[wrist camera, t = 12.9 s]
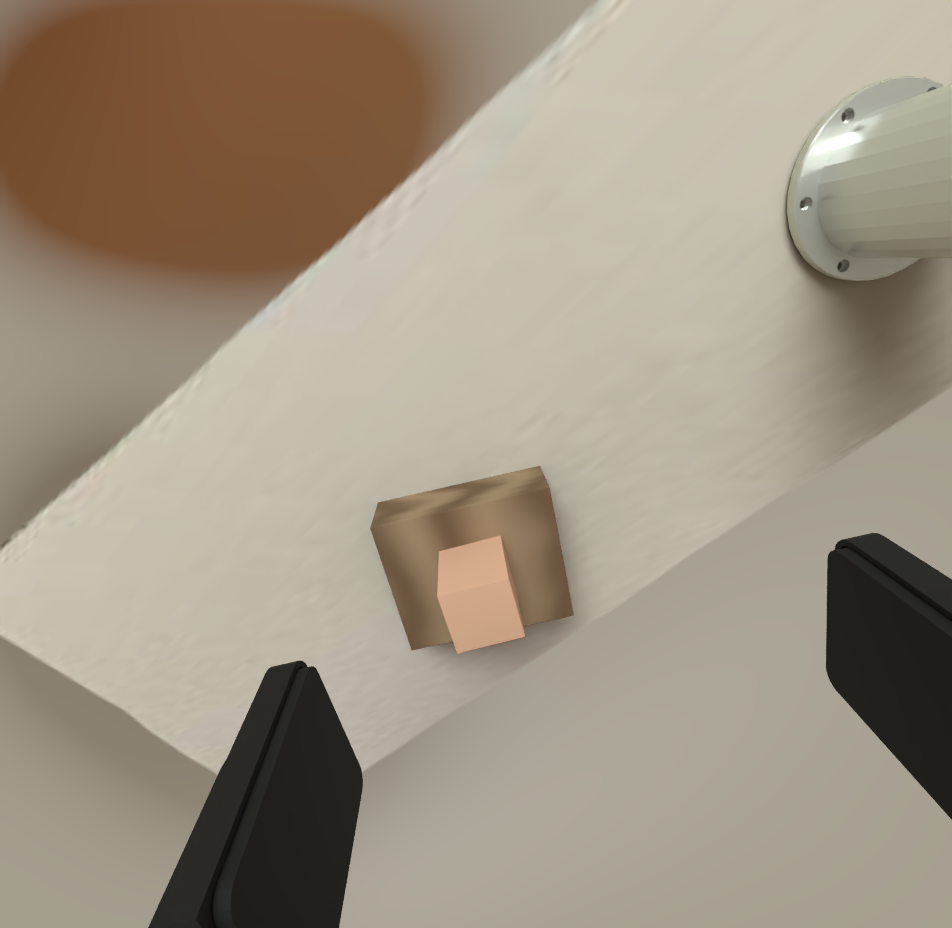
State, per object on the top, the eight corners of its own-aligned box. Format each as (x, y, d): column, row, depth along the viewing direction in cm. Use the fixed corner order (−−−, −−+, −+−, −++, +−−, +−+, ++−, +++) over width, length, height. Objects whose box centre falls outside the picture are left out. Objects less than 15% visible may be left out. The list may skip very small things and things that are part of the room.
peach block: (500, 535, 41) (508, 578, 35) (515, 587, 43) (525, 636, 37) (438, 551, 41) (437, 597, 36) (456, 602, 43) (457, 653, 37)
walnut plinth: (538, 464, 44) (549, 488, 40) (561, 581, 49) (573, 615, 44) (378, 500, 45) (370, 528, 40) (415, 613, 49) (411, 650, 44)
